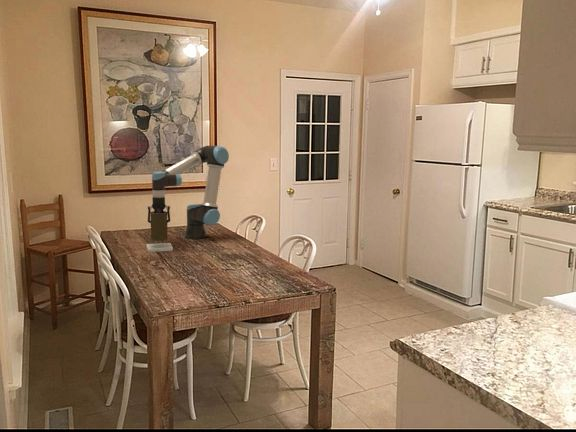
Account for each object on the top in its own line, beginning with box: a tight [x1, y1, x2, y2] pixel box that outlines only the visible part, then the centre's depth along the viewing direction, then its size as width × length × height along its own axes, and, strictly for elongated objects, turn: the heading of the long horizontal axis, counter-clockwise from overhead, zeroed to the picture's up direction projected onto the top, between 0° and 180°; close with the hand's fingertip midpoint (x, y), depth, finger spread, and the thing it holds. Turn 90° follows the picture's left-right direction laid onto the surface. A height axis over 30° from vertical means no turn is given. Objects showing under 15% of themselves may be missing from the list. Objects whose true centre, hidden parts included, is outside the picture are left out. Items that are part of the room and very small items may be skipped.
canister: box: [150, 208, 169, 242], centre depth 305 cm, size 11×10×20 cm
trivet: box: [146, 242, 174, 253], centre depth 307 cm, size 15×15×2 cm
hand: (159, 233), depth 306 cm, fingers open, 6 cm apart
